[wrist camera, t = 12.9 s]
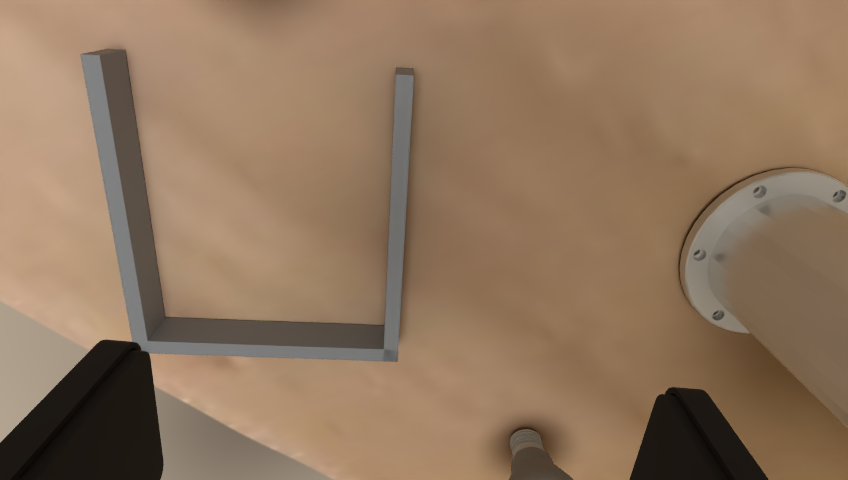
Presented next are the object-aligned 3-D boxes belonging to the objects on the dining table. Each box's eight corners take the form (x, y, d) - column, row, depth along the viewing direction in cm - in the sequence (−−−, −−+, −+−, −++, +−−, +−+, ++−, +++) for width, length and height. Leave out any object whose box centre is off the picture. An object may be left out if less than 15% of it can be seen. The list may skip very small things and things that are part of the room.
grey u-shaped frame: (412, 68, 33) (413, 75, 31) (397, 337, 41) (397, 361, 39) (107, 48, 32) (80, 54, 30) (152, 328, 40) (134, 352, 38)
